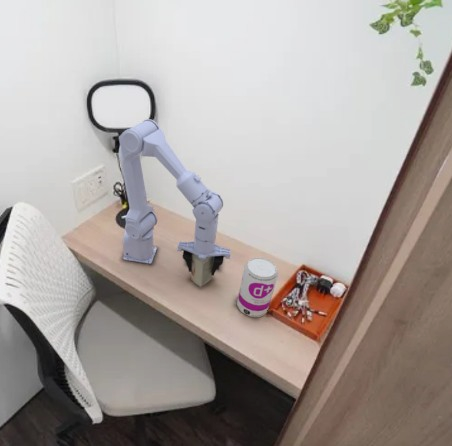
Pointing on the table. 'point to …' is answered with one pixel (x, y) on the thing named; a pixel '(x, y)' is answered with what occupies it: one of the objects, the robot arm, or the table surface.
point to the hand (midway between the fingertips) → (201, 271)
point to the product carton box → (201, 269)
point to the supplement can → (257, 287)
